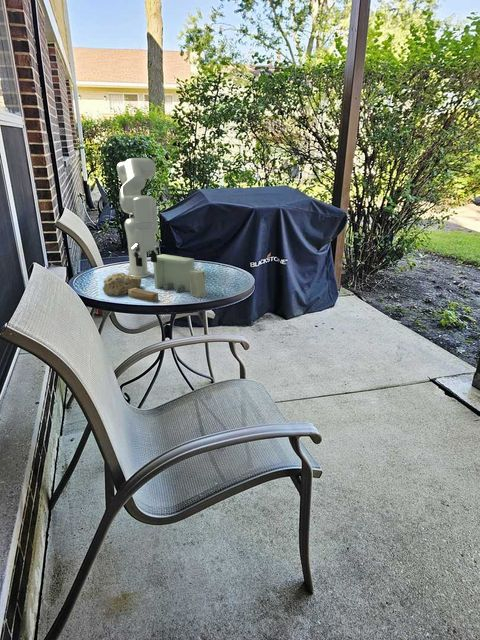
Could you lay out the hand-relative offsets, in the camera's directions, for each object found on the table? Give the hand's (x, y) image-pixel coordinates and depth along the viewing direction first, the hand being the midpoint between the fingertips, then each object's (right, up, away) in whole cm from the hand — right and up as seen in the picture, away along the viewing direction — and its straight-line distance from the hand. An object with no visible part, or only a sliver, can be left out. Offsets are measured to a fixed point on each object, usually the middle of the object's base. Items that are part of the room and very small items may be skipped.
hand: (146, 264), depth 189 cm
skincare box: (+23, -14, +9) cm, 28 cm away
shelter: (+10, -10, +18) cm, 23 cm away
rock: (-16, -11, +17) cm, 26 cm away
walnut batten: (-3, -16, +5) cm, 16 cm away
